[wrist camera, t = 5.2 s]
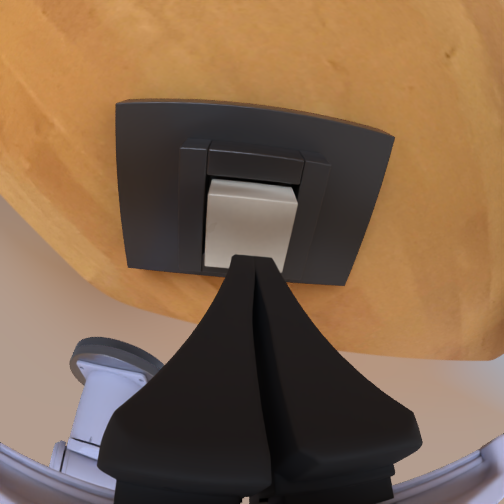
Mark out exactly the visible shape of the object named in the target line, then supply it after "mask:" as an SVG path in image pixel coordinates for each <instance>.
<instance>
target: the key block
mask: <svg viewBox="0 0 504 504" xmlns="http://www.w3.org/2000/svg"><path fill="white" fill-rule="evenodd" d="M394 139H395V137H394V136H392V135H390V134H388V133H387V132H385V131H383V130H380V129H377V128H373V127H370V126H366V125H362V124H358V123H354V122H350V121H346V120H342V119H338V118H333V117H329V116H324V115H319V114H314V113H309V112H303V111H298V110H292V109H286V108H279V107H272V106H265V105H257V104H249V103H239V102H228V101H215V100H198V99H128V100H125V101H122V102H118V103H116V162H117V179H118V192H119V203H120V213H121V222H122V230H123V238H124V245H125V252H126V258H127V265H128V268H136V269H145V270H155V271H164V272H174V273H184V274H195V275H206V276H217V277H226V274H227V272H228V269H229V268H219V267H208V266H205V265H204V263H205V238H206V218H207V200H208V192H209V189H210V185H211V182H212V179H222V180H233V181H243V182H252V183H261V184H270V185H278V186H286V187H292V189H293V192H294V194H295V197H296V200H297V202H298V206H297V211H296V215H295V220H294V224H293V229H292V233H291V237H290V242H289V246H288V250H287V254H286V258H285V263H284V267H283V271H282V272H281V275H282V277H283V278H284V280H285V282H292V283H306V284H322V285H338V286H345V284H346V281H347V279H348V276H349V274H350V271H351V269H352V266H353V264H354V261H355V259H356V256H357V254H358V251H359V248H360V246H361V243H362V240H363V238H364V235H365V232H366V229H367V227H368V224H369V221H370V218H371V215H372V212H373V209H374V206H375V203H376V200H377V197H378V194H379V191H380V188H381V185H382V181H383V178H384V175H385V171H386V168H387V165H388V161H389V158H390V154H391V150H392V147H393V143H394Z"/></svg>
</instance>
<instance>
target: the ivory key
mask: <svg viewBox="0 0 504 504" xmlns="http://www.w3.org/2000/svg"><path fill="white" fill-rule="evenodd" d="M297 206H298V202H297V200H296V197H295V194H294V192H293V189H292V187H286V186H278V185H270V184H261V183H252V182H243V181H233V180H222V179H212V182H211V185H210V189H209V192H208V200H207V218H206V238H205V263H204V265H205V266H208V267H219V268H229V266H230V263H231V257H232V256H233V255H235V254H238V255H249V256H261V257H272V259H273V260H274V262H275V263H276V265H277V267H278V269H279V271H280V273H281V272H282V271H283V267H284V263H285V258H286V254H287V250H288V246H289V242H290V237H291V233H292V229H293V224H294V220H295V215H296V211H297Z"/></svg>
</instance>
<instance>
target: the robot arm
mask: <svg viewBox="0 0 504 504" xmlns="http://www.w3.org/2000/svg"><path fill="white" fill-rule="evenodd" d="M76 364H77V366H78V367H79V369H80V371H81V372H82V374H83V376H84V377H85V379H86V383H85V386H84V389H83V392H82V395H81V398H80V402H79V405H78V409H77V412H76V416H75V420H74V423H73V427H72V431H71V435H70V438H69V440H68V443H67V446H65V444H66V442H64V441H60V442H57V443H55V446H54V449H53V453H52V456H51V461H50V465H49V467H48V466H45V465H43V464H41V463H39V462H36V461H34V460H32V459H30V458H28V457H26V456H24V455H22V454H20V453H19V452H17V451H15V450H13V449H11V448H9V447H8V446H6V445H4V444H3V443H1V442H0V504H240V503H241V502H242V498H244V497H249V502H250V503H249V504H498V503H499V501H501V500H502V499H503V498H504V433H503V434H501V435H500V436H498V437H497V438H495V439H493V440H492V441H490V442H488V443H487V444H486V445H484V446H482V447H481V448H480V449H478V450H476V451H475V452H473V453H471V454H469V455H467V456H465V457H463V458H461V459H459V460H457V461H455V462H452V463H450V464H448V465H446V466H443V467H441V468H439V469H436V470H434V471H432V472H429V473H427V474H424V475H421V476H419V477H416V478H413V479H410V480H408V481H405V482H402V483H399V484H395V485H393V486H392V483H391V478H390V477H391V476H393V475H394V474H395V469H394V465H393V464H394V463H396V462H398V461H400V460H402V459H403V458H405V457H407V456H409V455H411V454H412V453H414V452H416V451H417V450H418V449H419V448H420V447H421V446H422V438H421V435H420V431H419V427H418V424H417V421H416V418H415V416H414V413H413V412H412V411H410V410H409V409H408V408H406V407H405V406H403V405H402V404H400V403H398V402H397V401H395V400H394V399H393V398H391V397H390V396H388V395H387V394H385V393H384V392H383V391H381V390H380V389H379V388H377V387H376V386H375V385H374V384H373V383H371V382H370V381H369V380H367V379H366V378H365V377H364V376H363V375H362V374H360V373H359V372H358V371H357V370H356V369H355V368H354V367H353V366H352V365H351V364H350V363H349V362H348V361H347V360H346V359H345V358H343V357H342V356H341V355H340V354H339V353H338V351H337V350H336V349H335V348H334V347H333V346H332V345H331V344H330V343H329V342H328V340H327V339H326V338H325V337H324V336H323V335H322V334H321V332H320V331H319V330H318V329H317V327H316V326H315V325H314V323H313V322H312V321H311V319H310V318H309V317H308V315H307V314H306V313H305V311H304V310H303V308H302V307H301V305H300V304H299V302H298V301H297V299H296V298H295V296H294V295H293V293H292V292H291V290H290V288H289V287H288V285H287V283H286V282H285V280H284V278H283V277H282V275H281V273H280V271H279V269H278V267H277V265H276V263H275V262H274V260H273V259H272V257H261V256H249V255H238V254H235V255H233V256H232V257H231V263H230V266H229V269H228V272H227V274H226V277H225V279H224V281H223V283H222V285H221V287H220V289H219V291H218V293H217V295H216V297H215V299H214V300H213V302H212V304H211V305H210V307H209V309H208V310H207V312H206V314H205V315H204V317H203V318H202V320H201V321H200V323H199V324H198V326H197V327H196V328H195V330H194V331H193V332H192V334H191V335H190V336H189V338H188V339H187V340H186V341H185V343H184V344H183V345H182V346H181V348H180V349H179V350H178V351H177V352H176V354H175V355H174V356H173V357H172V358H171V359H170V360H169V361H168V362H167V364H166V365H164V367H163V368H162V369H161V370H160V371H159V372H158V373H157V374H156V375H155V376H154V377H153V378H152V379H151V380H150V381H149V382H147V379H146V376H145V375H144V374H142V373H138V372H132V371H127V370H121V369H116V368H111V367H107V366H102V365H97V364H93V363H89V362H85V361H81V360H78V361H77V363H76Z"/></svg>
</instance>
